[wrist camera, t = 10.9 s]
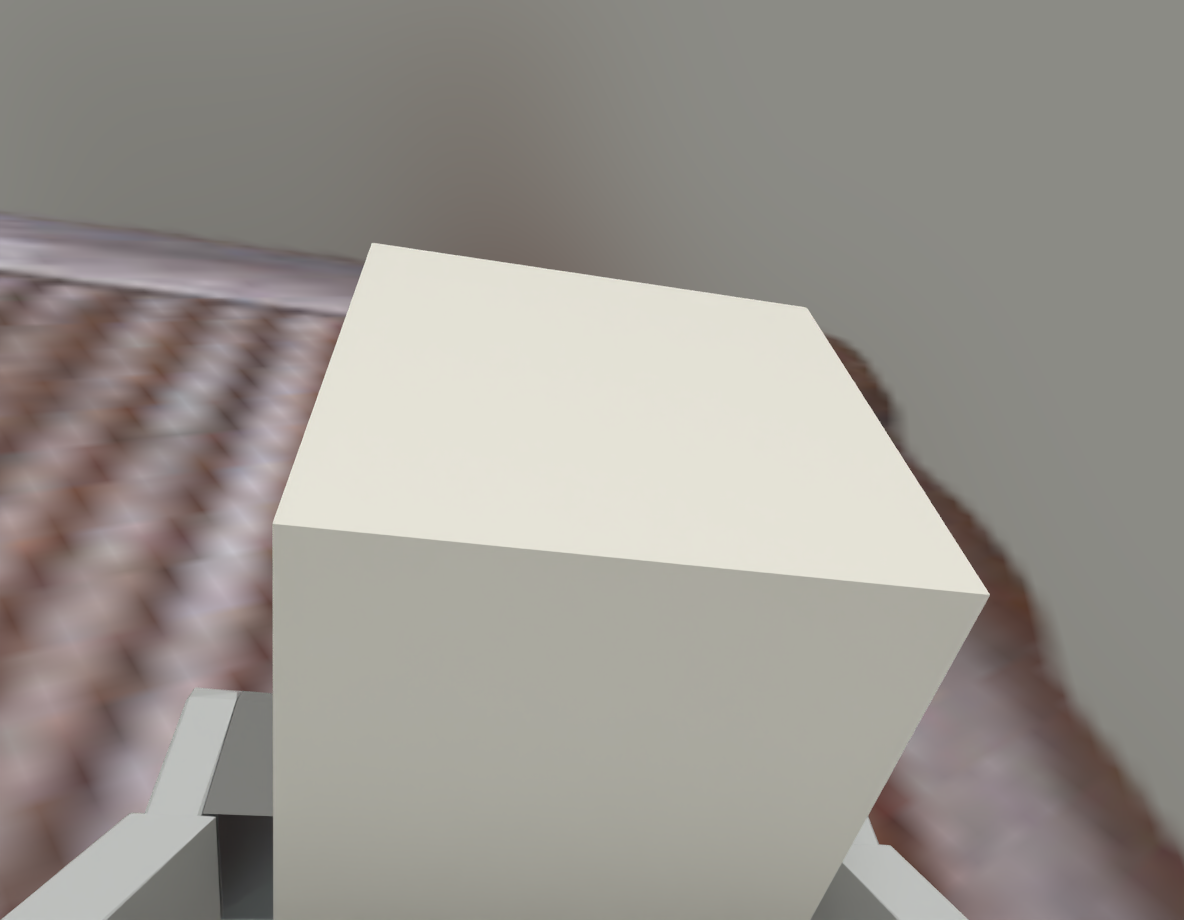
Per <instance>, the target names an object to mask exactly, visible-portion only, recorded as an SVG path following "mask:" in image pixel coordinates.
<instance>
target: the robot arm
mask: <svg viewBox="0 0 1184 920" xmlns="http://www.w3.org/2000/svg"><path fill="white" fill-rule="evenodd" d="M1 920H273V694H271V693H260V692H249V691H232V690H219V689H207V688H195V689H194V690H193V691H192V693H191V694H190V696H189V697H188V698H187V700H186V703H185V706H184V708H183V711H182V714H181V716H180V719H179V722H178V725H177V727H176V730H175V733H174V735H173V738H172V741H171V743H170V746H169V749H168V752H167V754H166V757H165V760H164V762H163V765H162V768H161V770H160V773H159V776H158V779H157V781H156V784H155V787H154V789H153V792H152V795H151V797H150V800H149V803H148V806H147V808H146V811H145V813H129V814H128V815H127V816H126V817H125V818H123V819H122V820H121V821H120V822H119V823H117V824H116V825H115V826H114V827H112V828H111V829H110V830H109V831H108V832H106V833H105V834H104V835H103V836H102V837H100V838H99V839H98V840H97V841H96V842H94V843H93V844H92V845H91V846H90V847H88V848H87V849H86V850H85V851H83V852H82V853H81V854H80V855H79V856H77V857H76V858H75V859H74V860H73V861H71V862H70V863H69V864H68V865H67V866H65V867H64V868H63V869H62V870H61V871H59V872H58V873H57V874H56V875H54V876H53V877H52V878H51V879H50V880H48V881H47V882H46V883H45V884H44V885H42V886H41V887H40V888H39V889H38V890H36V891H35V892H34V893H33V894H32V895H30V896H29V897H28V898H27V899H25V900H24V901H23V902H22V903H21V904H19V905H18V906H17V907H16V908H15V909H13V910H12V911H11V912H10V913H9V914H7V915H6V916H5V917H4V918H3V919H1ZM811 920H968V919H967V918H966V917H965V916H964V915H963V914H962V913H961V912H960V911H959V910H957V909H956V908H955V907H954V906H953V905H952V904H951V903H950V902H949V901H948V900H947V899H946V898H945V897H944V896H943V895H942V894H941V893H940V892H939V891H938V890H936V889H935V888H934V887H933V886H932V885H931V884H930V883H929V882H928V881H927V880H926V879H925V878H924V877H923V876H922V875H921V874H920V873H919V872H918V871H917V870H916V869H914V868H913V867H912V866H911V865H910V864H909V863H908V862H907V861H906V860H905V859H904V858H903V857H902V856H901V855H900V854H899V853H898V852H897V851H896V850H895V849H893V848H892V847H891V846H890V845H879V843H878V841H877V838H876V836H875V833H874V831H873V828H872V825H871V823H870V820H869V818H868V816H867V818H866V820H865V822H864V824H863V825H862V827H861V829H860V831H859V833H858V835H857V836H856V838H855V840H854V842H853V844H852V845H851V847H850V849H849V851H848V853H847V854H846V856H845V858H844V860H843V862H842V863H841V865H840V867H839V869H838V871H837V873H836V874H835V876H834V878H833V880H832V882H831V883H830V885H829V887H828V889H827V891H826V892H825V894H824V896H823V898H822V900H821V901H820V903H819V905H818V907H817V909H816V911H815V912H814V914H813V916H812V918H811Z"/></svg>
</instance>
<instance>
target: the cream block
mask: <svg viewBox="0 0 1184 920" xmlns="http://www.w3.org/2000/svg"><path fill="white" fill-rule="evenodd" d="M989 596H990V594H989V593H988V591H987V590H986V588H985V586H984V585H983V583H982V582H981V580H980V579H979V577H978V576H977V574H976V572H975V571H974V569H973V568H972V566H971V565H970V563H969V561H968V560H967V558H966V557H965V555H964V554H963V552H962V550H961V549H960V547H959V546H958V544H957V543H956V541H955V539H954V538H953V536H952V535H951V533H950V532H949V530H948V528H947V527H946V525H945V524H944V522H943V521H942V519H941V518H940V516H939V514H938V513H937V511H936V510H935V508H934V507H933V505H932V503H931V502H930V500H929V499H928V497H927V496H926V494H925V492H924V491H923V489H922V488H921V486H920V485H919V483H918V481H917V480H916V478H915V477H914V475H913V474H912V472H911V470H910V469H909V467H908V466H907V464H906V463H905V461H904V460H903V458H902V456H901V455H900V453H899V452H898V450H897V449H896V447H895V445H894V444H893V442H892V441H891V439H890V438H889V436H888V434H887V433H886V431H885V430H884V428H883V427H882V425H881V423H880V422H879V420H878V419H877V417H876V416H875V414H874V412H873V411H872V409H871V408H870V406H869V405H868V403H867V402H866V400H865V398H864V397H863V395H862V394H861V392H860V391H859V389H858V387H857V386H856V384H855V383H854V381H853V380H852V378H851V376H850V375H849V373H848V372H847V370H846V369H845V367H844V365H843V364H842V362H841V361H840V359H839V358H838V356H837V354H836V353H835V351H834V350H833V348H832V347H831V345H830V344H829V342H828V340H827V339H826V337H825V336H824V334H823V333H822V331H821V329H820V328H819V326H818V325H817V323H816V322H815V320H814V318H813V317H812V316H811V314H810V312H809V311H808V309H807V308H805V307H799V306H793V305H785V304H779V303H772V302H765V301H759V300H752V299H746V298H739V297H732V296H726V295H718V294H712V293H705V292H698V291H692V290H685V289H678V288H671V287H665V286H658V285H652V284H644V283H638V282H631V281H624V280H618V279H611V278H604V277H597V276H590V275H585V274H578V273H571V272H564V271H557V270H551V269H544V268H538V267H531V266H524V265H517V264H511V263H504V262H497V261H491V260H483V259H477V258H470V257H464V256H457V255H450V254H443V253H437V252H430V251H424V250H417V249H410V248H403V247H397V246H390V245H383V244H377V243H372V244H371V247H370V250H369V253H368V256H367V259H366V261H365V264H364V267H363V270H362V273H361V276H360V278H359V281H358V284H357V287H356V290H355V292H354V295H353V298H352V301H351V304H350V307H349V309H348V312H347V315H346V318H345V321H344V324H343V326H342V329H341V332H340V335H339V338H338V340H337V343H336V346H335V349H334V352H333V355H332V357H331V360H330V363H329V366H328V369H327V372H326V374H325V377H324V380H323V383H322V386H321V388H320V391H319V394H318V397H317V400H316V403H315V405H314V408H313V411H312V414H311V417H310V420H309V422H308V425H307V428H306V431H305V434H304V436H303V439H302V442H301V445H300V448H299V451H298V453H297V456H296V459H295V462H294V465H293V468H292V470H291V473H290V476H289V479H288V482H287V484H286V487H285V490H284V493H283V496H282V499H281V501H280V504H279V507H278V510H277V513H276V516H275V518H274V521H273V920H811V918H812V916H813V914H814V912H815V911H816V909H817V907H818V905H819V903H820V901H821V900H822V898H823V896H824V894H825V892H826V891H827V889H828V887H829V885H830V883H831V882H832V880H833V878H834V876H835V874H836V873H837V871H838V869H839V867H840V865H841V863H842V862H843V860H844V858H845V856H846V854H847V853H848V851H849V849H850V847H851V845H852V844H853V842H854V840H855V838H856V836H857V835H858V833H859V831H860V829H861V827H862V825H863V824H864V822H865V820H866V818H867V816H868V815H869V813H870V811H871V809H872V807H873V806H874V804H875V802H876V800H877V798H878V797H879V795H880V793H881V791H882V789H883V787H884V786H885V784H886V782H887V780H888V778H889V777H890V775H891V773H892V771H893V769H894V768H895V766H896V764H897V762H898V760H899V759H900V757H901V755H902V753H903V751H904V749H905V748H906V746H907V744H908V742H909V740H910V739H911V737H912V735H913V733H914V731H915V730H916V728H917V726H918V724H919V722H920V721H921V719H922V717H923V715H924V713H925V712H926V710H927V708H928V706H929V704H930V702H931V701H932V699H933V697H934V695H935V693H936V692H937V690H938V688H939V686H940V684H941V683H942V681H943V679H944V677H945V675H946V674H947V672H948V670H949V668H950V666H951V664H952V663H953V661H954V659H955V657H956V655H957V654H958V652H959V650H960V648H961V646H962V645H963V643H964V641H965V639H966V637H967V636H968V634H969V632H970V630H971V628H972V626H973V625H974V623H975V621H976V619H977V617H978V616H979V614H980V612H981V610H982V608H983V607H984V605H985V603H986V601H987V599H988V598H989Z"/></svg>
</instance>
